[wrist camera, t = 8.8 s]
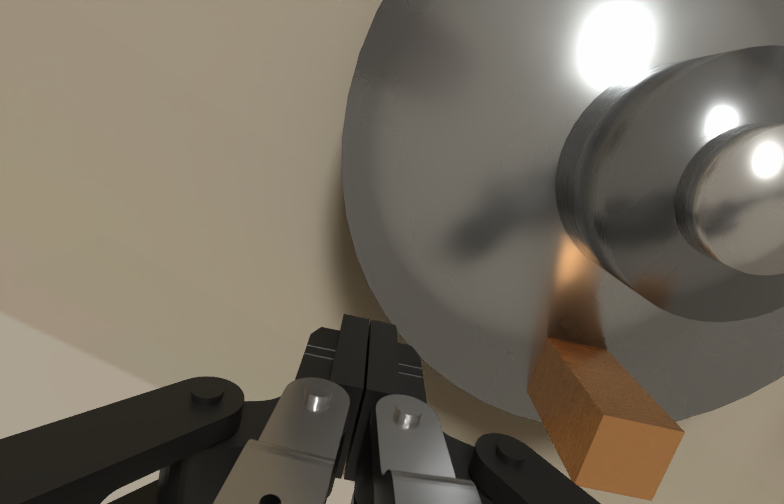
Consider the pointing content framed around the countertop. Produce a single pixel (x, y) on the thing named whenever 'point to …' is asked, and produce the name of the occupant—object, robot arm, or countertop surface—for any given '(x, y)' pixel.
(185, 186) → the countertop surface
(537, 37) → the turntable
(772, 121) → the cover
